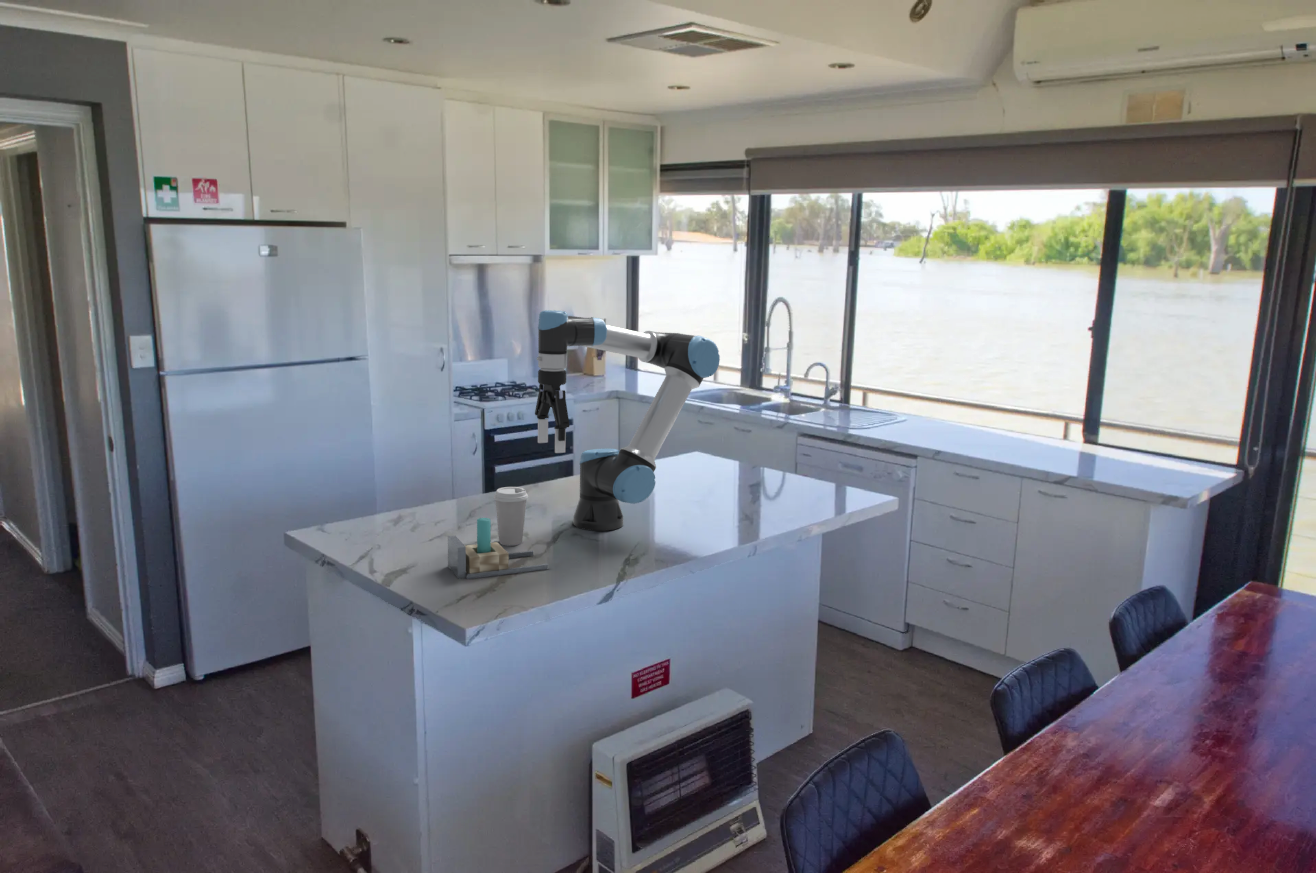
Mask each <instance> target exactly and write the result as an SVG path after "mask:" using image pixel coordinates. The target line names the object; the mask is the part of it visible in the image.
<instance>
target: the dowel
mask: <svg viewBox="0 0 1316 873" xmlns="http://www.w3.org/2000/svg"><path fill="white" fill-rule="evenodd" d="M491 524H492V521H491V518H489V517H479V518H477V519H476V544H477V554H479V553H488V552H491V543H492V541H491V538H492V537H491V536H492V533H491V531H492V528H491Z"/></svg>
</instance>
